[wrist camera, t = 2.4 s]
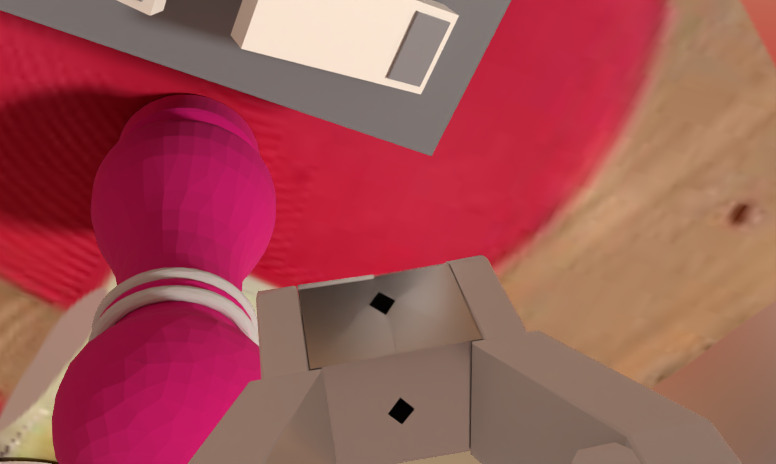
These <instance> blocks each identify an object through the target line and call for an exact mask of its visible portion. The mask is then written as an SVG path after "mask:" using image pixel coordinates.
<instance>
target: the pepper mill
mask: <svg viewBox="0 0 776 464" xmlns="http://www.w3.org/2000/svg"><path fill="white" fill-rule="evenodd" d="M275 216H276V195H275V187H274V184H273V181H272V177H271V175H270V172H269V170H268V168H267V166H266V165H265V163H264V161H263V160H262V158H261V157H260V154H259V149H258V144H257V141H256V139H255V137H254V135H253V132H252V130H251V128H250V127H249V126H248V124H247V123H246V122H245V121H244V119H243V118H242V117H241V116H239V115H238V114H237V113H236V112H235V111H234V110H232V109H231V108H229V107H227V106H226V105H224V104H222V103H220V102H218V101H215V100H213V99H211V98H207V97H203V96H198V95H172V96H167V97H163V98H161V99H158V100H155V101H153V102H150V103H148V104H147V105H145V106H143V107H142V108H141V109H139V110H138V111H137V112H136V113H135V114H134V115H133V116H132V117H131V118H130V119H129V120H128V122H127V123H126V124H125V126H124V128H123V130H122V132H121V135H120V138H119V141H118V142H117V143H116V144H115V145H114V146H113V147H112V149H111V150H110V151H109V152H108V153H107V155H106V156H105V157H104V159H103V161H102V163H101V164H100V166H99V168H98V170H97V173H96V176H95V179H94V182H93V191H92V199H91V221H92V225H93V229H94V232H95V236H96V240H97V244H98V247H99V249H100V251H101V253H102V255H103V256H104V258H105V260H106V261H107V263H108V264H109V266H110V268H111V269H112V271H113V273H114V275H115V277H116V282H117V286H116V287H115V288H114V289H113V290H112V291H111V292H109V293H108V294H107V296H106V297H105V298H104V299H103V300H102V302H101V304H100V305H99V307H98V309H97V311H96V314H95V316H94V320H93V324H92V332H91V335H90V338H89V341H88V343H87V345H86V346H85V347H84V348H83V349H82V350H81V351H80V353H79V354H78V355H77V356H76V357H75V358H74V360H73V361H72V362H71V363H70V365H69V367H68V369H67V371H66V373H65V375H64V378H63V380H62V382H61V384H60V386H59V389H58V392H57V394H56V398H55V404H54V410H53V416H52V434H53V445H54V451H55V456H56V459H57V461H58V463H59V464H188V462H189V461H190V460H191V458H192V457H193V456H194V454H195V453H196V452H197V450H198V449H199V448H200V446H201V445H202V444H203V443H204V441H205V440H206V439H207V437H208V436H209V435H210V433H211V432H212V431H213V429H214V428H215V427H216V425H217V424H218V423H219V421H220V420H221V419H222V417H223V416H224V415H225V413H226V412H227V411H228V409H229V408H230V407H231V405H232V404H233V403H234V401H235V400H236V399H237V397H238V396H239V395H240V394H241V392H242V391H243V390H244V388H245V387H246V386H247V384H248V383H249V382H250V381H255V380H261V366H260V350H259V339H258V323H257V317H256V314H255V311H254V309H253V307H252V305H251V303H250V301H249V300H248V299H247V298H246V296H245V295H244V294H243V293H242V282H243V280H244V279H245V278H246V277H247V276H248V275H249V274H250V272H251V271H252V270H253V268H254V267H255V265H256V264H257V263H258V261H259V260H260V258H261V257H262V255H263V254H264V253H265V250H266V248H267V246H268V243H269V241H270V239H271V236H272V233H273V229H274V226H275Z"/></svg>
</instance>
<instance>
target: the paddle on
mask: <svg viewBox="0 0 776 464" xmlns="http://www.w3.org/2000/svg"><path fill="white" fill-rule="evenodd" d="M117 1H119V2H121V3H123V4H126V5H128V6H130V7H132V8H134V9H136V10H138V11H141V12H143V13H145V14H147V15H149V16H151V15H154V14H156V13H158V12H161V11H163V10H164V6H165V3H166V0H117Z"/></svg>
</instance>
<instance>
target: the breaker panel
mask: <svg viewBox="0 0 776 464" xmlns="http://www.w3.org/2000/svg"><path fill="white" fill-rule="evenodd" d="M433 1H436V2H439V3H441V4H444V5H445V6H447V7H448V8H449V9H451V10H452V11H454V12H455V13H456V14H458V15H459V17H458V19H457V21H456V23H455V25H454V27H453V29H452V31H451V33H450V35H449V38H448V40H447V42H446V44H445V46H444V48H443V50H442V52H441V54H440V56H439V58H438V60H437V62H436V64H435V66H434V69H433V71H432V73H431V75H430V77H429V79H428V81H427V83H426V85H425V87H424V89H423V91H422V93H421V94H417V93H413V92H409V91H405V90H401V89H397V88H393V87H389V86H386V85H382V84H378V83H374V82H370V81H366V80H362V79H358V78H354V77H350V76H346V75H342V74H338V73H334V72H330V71H327V70H323V69H319V68H315V67H311V66H307V65H303V64H299V63H295V62H291V61H287V60H283V59H279V58H275V57H271V56H268V55H264V54H260V53H256V52H252V51H248V50H244V49H241V48H240V47H239V45H238V44H237V43H236V42H235V40H234V39H233V38H232V36H231V32H232V29H233V26H234V23H235V21H236V18H237V15H238V12H239V9H240V6H241V3H242V0H166V3H165V6H164V10H163V11H161V12H158V13H156V14H154V15H151V16H149V15H147V14H145V13H143V12H141V11H138V10H136V9H134V8H132V7H130V6H128V5H126V4H123V3H121V2H119V1H117V0H0V10H1V11H4V12H7V13H10V14H13V15H16V16H19V17H22V18H25V19H28V20H31V21H34V22H37V23H40V24H43V25H46V26H48V27H51V28H54V29H57V30H60V31H63V32H66V33H69V34H72V35H75V36H78V37H81V38H84V39H87V40H90V41H93V42H96V43H99V44H102V45H105V46H108V47H111V48H114V49H116V50H119V51H122V52H125V53H128V54H131V55H134V56H137V57H140V58H143V59H146V60H149V61H152V62H155V63H158V64H161V65H164V66H167V67H170V68H173V69H176V70H179V71H182V72H184V73H187V74H190V75H193V76H196V77H199V78H202V79H205V80H208V81H211V82H214V83H217V84H220V85H223V86H226V87H229V88H232V89H235V90H238V91H241V92H244V93H247V94H250V95H252V96H255V97H258V98H261V99H264V100H267V101H270V102H273V103H276V104H279V105H282V106H285V107H288V108H291V109H294V110H297V111H300V112H303V113H306V114H309V115H312V116H315V117H317V118H320V119H323V120H326V121H329V122H332V123H335V124H338V125H341V126H344V127H347V128H350V129H353V130H356V131H359V132H362V133H365V134H368V135H371V136H374V137H377V138H380V139H383V140H385V141H388V142H391V143H394V144H397V145H400V146H403V147H406V148H409V149H412V150H415V151H418V152H421V153H424V154H427V155H430V156H432V154H433V152H434V150H435V148H436V146H437V144H438V142H439V140H440V138H441V136H442V135H443V133H444V131H445V129H446V127H447V125H448V123H449V121H450V119H451V117H452V115H453V113H454V111H455V109H456V107H457V105H458V103H459V101H460V99H461V97H462V95H463V93H464V92H465V90H466V88H467V86H468V84H469V82H470V80H471V78H472V76H473V74H474V72H475V70H476V68H477V66H478V64H479V62H480V60H481V58H482V56H483V54H484V52H485V50H486V49H487V47H488V45H489V43H490V41H491V39H492V37H493V35H494V33H495V31H496V29H497V27H498V25H499V23H500V21H501V19H502V17H503V15H504V13H505V11H506V9H507V7H508V5H509V4H510V2H511V0H433Z"/></svg>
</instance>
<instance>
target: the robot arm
mask: <svg viewBox="0 0 776 464" xmlns="http://www.w3.org/2000/svg"><path fill="white" fill-rule="evenodd" d="M298 292H299V297H298ZM299 300H300V303H299ZM256 303H257V319H258V335H259V350H260V366H261V380H255V381H250V382H249V383H248V384H247V386H246V387H245V388H244V390H243V391H242V392H241V394H240V395H239V396H238V397H237V399H236V400H235V401H234V403H233V404H232V405H231V407H230V408H229V409H228V411H227V412H226V413H225V415H224V416H223V417H222V419H221V420H220V421H219V423H218V424H217V425H216V427H215V428H214V429H213V431H212V432H211V433H210V435H209V436H208V437H207V439H206V440H205V441H204V443H203V444H202V445H201V446H200V448H199V449H198V450H197V452H196V453H195V454H194V456H193V457H192V458H191V460H190V461H189V462H188V464H397V463H402V462H404V461H405V462H407V461H413V460H419V459H425V458H431V457H436V456H443V455H449V454H455V453H461V452H466V451H471V455H473V456H474V457H475V458H476V459H477V460H478V461H479V462H480V463H482V464H742V463H741V462H740V460H739V459H738V458H737V456H736V455H735V453H734V452H733V451H732V449H731V448H730V447H729V445H728V444H727V443H726V441H725V440H724V439H723V438H722V436H721V435H720V433H719V432H718V430H717V429H716V428H715V426H714V425H713V424H712V422H711V421H709V420H708V419H705V418H703V417H702V416H700V415H698V414H696V413H694V412H692V411H690V410H689V409H687V408H685V407H683V406H681V405H679V404H677V403H675V402H673V401H672V400H669V399H668V398H666V397H664V396H662V395H660V394H658V393H656V392H655V391H652V390H651V389H649V388H647V387H645V386H643V385H641V384H639V383H637V382H636V381H634V380H632V379H630V378H628V377H626V376H624V375H622V374H620V373H619V372H617V371H615V370H613V369H611V368H609V367H607V366H605V365H603V364H601V363H600V362H598V361H596V360H594V359H592V358H590V357H588V356H586V355H584V354H583V353H581V352H579V351H577V350H575V349H573V348H571V347H569V346H567V345H565V344H564V343H562V342H560V341H558V340H556V339H554V338H552V337H550V336H548V335H546V334H545V333H543V332H541V331H532V332H527V330H526V328H525V326H524V324H523V323H522V321H521V319H520V317H519V315H518V313H517V312H516V310H515V308H514V306H513V304H512V303H511V301H510V299H509V297H508V295H507V293H506V292H505V290H504V288H503V286H502V284H501V282H500V281H499V279H498V277H497V275H496V273H495V272H494V270H493V268H492V266H491V264H490V262H489V261H488V259H487V258H486V257H484V256H483V255H479V256H474V257H469V258H464V259H458V260H453V261H448V262H446V263H445V264H438V265H432V266H426V267H420V268H414V269H408V270H402V271H396V272H390V273H384V274H378V275H367V276H360V277H353V278H346V279H339V280H332V281H325V282H317V283H310V284H303V285H298V291H297V287H296V286H290V287H284V288H278V289H271V290H265V291H258V293H257V297H256ZM300 307H301V309H300ZM301 314H302V315H301ZM0 464H50V463H42V462H29V461H9V462H0Z"/></svg>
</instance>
